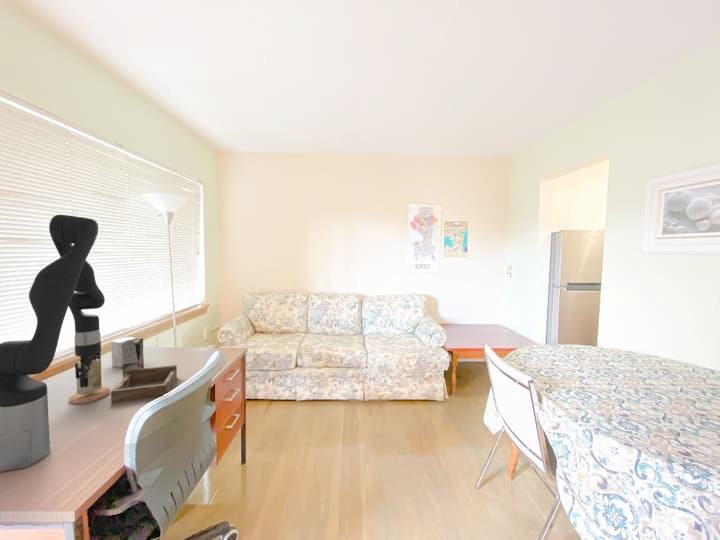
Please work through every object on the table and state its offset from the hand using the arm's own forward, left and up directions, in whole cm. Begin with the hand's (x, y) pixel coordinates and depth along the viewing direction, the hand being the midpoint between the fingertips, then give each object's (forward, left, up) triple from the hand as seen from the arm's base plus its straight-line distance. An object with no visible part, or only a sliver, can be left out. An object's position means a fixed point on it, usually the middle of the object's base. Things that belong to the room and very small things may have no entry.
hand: (89, 382), depth 117 cm
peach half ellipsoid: (0, 0, -6) cm, 6 cm away
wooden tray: (0, -19, -6) cm, 20 cm away
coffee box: (+18, -9, -6) cm, 21 cm away
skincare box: (0, 0, -4) cm, 4 cm away
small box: (+35, 0, -6) cm, 36 cm away
